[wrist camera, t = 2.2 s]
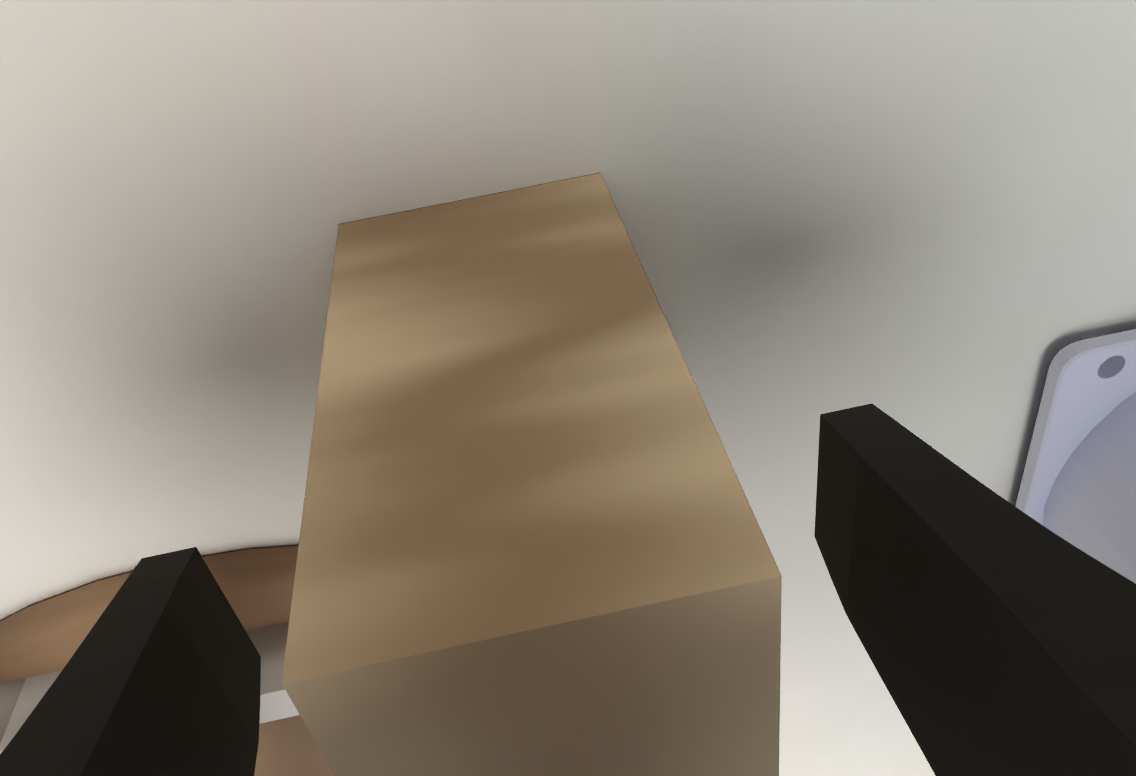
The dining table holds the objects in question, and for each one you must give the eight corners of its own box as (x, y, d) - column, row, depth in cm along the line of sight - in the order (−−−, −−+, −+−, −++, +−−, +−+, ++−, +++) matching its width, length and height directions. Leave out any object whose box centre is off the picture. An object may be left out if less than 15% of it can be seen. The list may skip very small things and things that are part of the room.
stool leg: (600, 172, 13) (781, 576, 7) (626, 380, 16) (777, 818, 9) (339, 224, 13) (282, 682, 7) (405, 426, 16) (409, 901, 9)
